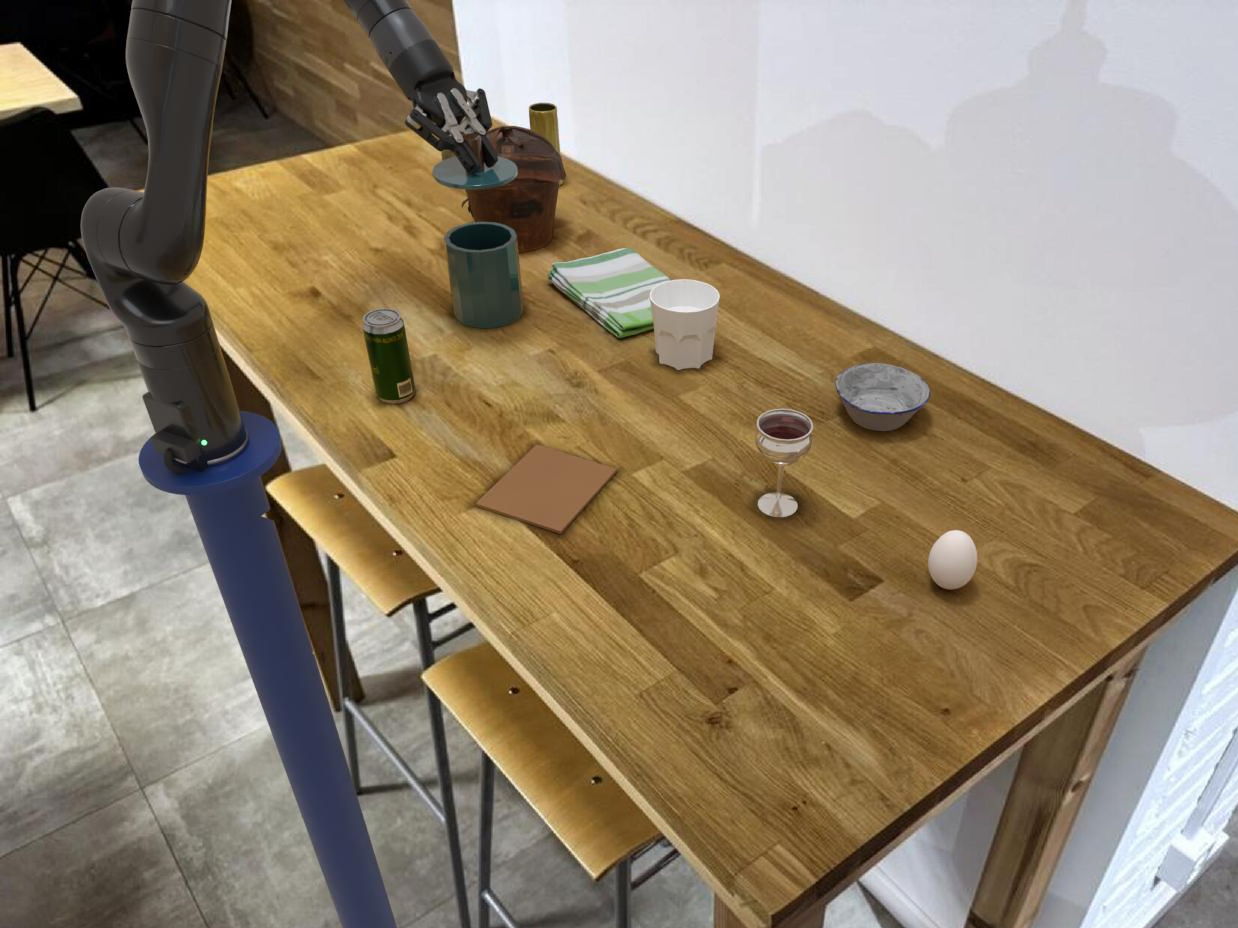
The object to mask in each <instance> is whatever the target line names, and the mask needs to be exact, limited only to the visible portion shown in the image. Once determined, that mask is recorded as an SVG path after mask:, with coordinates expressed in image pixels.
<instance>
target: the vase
mask: <svg viewBox="0 0 1238 928" xmlns="http://www.w3.org/2000/svg"><path fill="white" fill-rule="evenodd" d="M528 118H529V119H528V121H529V129H530V130H533V131H535V132H537V133H539V134H541V135H542V136H544V137H545V138H546V139H547V140H548V141H549V142H550V143H551V144H552V145H553V146H554V148H555V150H557V152H558V153H559V154H560V156H561V157H562V153H561V144H560V131H559V118H558V107H557V106H556V104H554V103H551V102H536V103H532V104H530V105H529V106H528ZM559 181H560V183H559V187H560V186H561V185H563V184H564V182H565V179H564V180H561V179H560V180H559Z"/></svg>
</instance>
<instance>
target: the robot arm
mask: <svg viewBox="0 0 1238 928" xmlns="http://www.w3.org/2000/svg"><path fill="white" fill-rule="evenodd" d="M340 1H341V2H342V3H343V4H344V5H345V6H346V7H347V9H348V10H349V11H350V12H351V14H352V15H353V17H354V18H355V19H356V21H357V22H358V24H359V25H360V27H361V28H362V30H363V31H364V32H365V34H366V36H367V37H368V39H369V40H370V42H371V43H372V46H373V48H374V50H375V52H376V54H377V56H378V57H379V59H380V61H381V62H382V63H383V65H384V66H385V68H386V69H387V71H388V72H389V74H390V75H391V77H392V78H393V80H394V81H395V83H396V84H397V86H398V87H399V89H400V90H401V92H402V93H403V96H405V98H406V99H407V100H408V101H410V102H412V107H413V108H412V109H411V111H410V112H409V114H408V115H407V116H406V118H405V120H404V125H405V126H406V127H408V128H409V129H410V130H411V131H412V132H414V133H415V134H416V135H418V136H419V137H420V138H421V139H423V140H424V141H425V142H426V143H428V144H429V145H430V146H432V147H433V148H434V149H435V150H436V151H438V152H441V151H443V150H450V151H451V152H454V154H455V155H456V157H457V158H458V160H459V161H460V163H461V164H462V166H463V167H464V169H465V170H467V171H469V173H470V174H474V173H477V171H478V170H479V169H480V168H481V164H480V162H479V160H478V159H477V157H476V156H475V154H474V153H473V151H472V150H471V148H470V147H469V145H468V144H467V142H465V143H463V137H462V135H461V133H460V131H461V132H464V133H465V134H471V133H473V134H479V135H480V136H481V139H482V149H483V159H484V163H485V165H486V166H487V167H488V168H490V167H493V166H494V165H495V164H496V162H497V161H498V155H497V152H496V151H495V149H494V148H493V146H492V145H491V143H490V141H489V140H488V138H487V137H486V133H487V132H488V131H489V130H491V129H492V127H493V119H492V116H491V111H490V107H489V103H488V99H487V94H486V91H485V90H484V88H477V90H476V91H473V90H469V89H467V88H466V87H465V86H464V85H463V84H462V83H461V82H459V80H457V78H456V75H455V71H454V67H453V66H452V64H451V63H450V61H449V59H448V58H447V56H446V54H445V53H444V51H443V50H442V49H441V47H440V46H439V44H438V43H437V41H436V40H435V38H434V36H433V34H431V31H430V30H429V29H428V27H427V26H426V25H425V23H424V21H422V20H421V18H420V17H419V16H418V15H417V13H416V12H415V11H414V9H413V8H412V6H411V4H410V3H409V2H408V0H340ZM232 2H233V0H132V2H131V10H130V15H129V23H128V27H127V28H128V29H127V35H126V36H127V37H126V44H125V64H126V69H127V73H128V74H127V75H128V78H129V82H130V85H131V88H132V90H133V93H134V97H135V99H136V102H137V105H138V108H139V111H140V115H141V116H142V117H141V118H142V120H143V124H144V127H145V129H146V130H145V131H146V135H147V144H148V161H147V172H146V179H145V180H146V181H145V185H144V190H143V191H139V190H135V189H130V188H125V187H115V186H112V187H111V186H110V187H106V188H103V189H100V190H98V191H96V192H95V193H93V194H92V195H91V196H90V197H89V198H88V200H87V201H86V203H85V205H84V207H83V209H82V211H81V217H80V234H81V235H80V236H81V241H82V244H83V248H84V251H85V253H86V257H87V260H88V262H89V265H90V266H91V269H92V271H93V274H94V276H95V278H96V281H97V283H98V285H99V288H100V290H101V292H102V294H103V297H104V299H105V301H106V304H107V306H108V308H109V310H110V311H111V313H112V314H113V316H114V317H115V318H116V319H117V320H118V321H119V322H120V323H121V325H122V326H123V328H124V330H125V332H126V335H127V337H128V339H129V343H130V345H131V348H132V351H133V353H134V356H135V359H136V362H137V365H138V367H139V370H140V373H141V377H142V379H143V382H144V385H145V387H146V390H147V391H146V392H145V393H143V394H142V397H141V398H142V401H143V405H144V406H145V409H146V411H147V414H148V417H149V420H150V422H151V425H152V429H153V431H154V434H152V435H151V436H150V437H151V440H152V443H153V446H154V448H155V451H156V452H158V453H161V454H163V455H164V463H165V466H166V467H167V468H168V469H169V470H170V471H172V472H174V473H177V474H179V475H180V474H183V473H184V471H185V470H184V468H183V467H181V466H178V465H176V464H174V463H177V464H179V465H182V466H185V467H188V468H191V469H194V470H197V471H200V472H202V471H204V470H206V469H207V468H209V467H213V466H217V465H221V464H224V463H226V462H229V461H231V460H233V459H235V458H236V457H238V456H239V455H240V454H242V453H243V452H244V451H245V450H246V448H247V447H248V444H249V437H248V433H247V430H246V429H245V426H244V423H243V420H242V416H241V413H240V411H241V410H240V406H239V404H238V400H237V397H236V394H235V391H234V387H233V384H232V381H231V377H230V373H229V370H228V367H227V364H226V361H225V358H224V354H223V351H222V348H221V344H220V340H219V338H218V335H217V331H216V327H215V324H214V320H213V317H212V315H211V311H210V308H209V305H208V303H207V301H206V299H205V298H204V296H203V295H202V294H200V293H199V292H198V291H197V290H195V289H194V288H192V286H189V285H188V284H187V283H186V282H185V281H186V280H188V279H189V278H190V276H191V275H192V274H193V273H194V272H195V269H196V268H197V266H198V265H199V261H200V259H201V256H202V254H203V253H202V252H203V249H204V241H205V233H206V219H207V197H208V177H209V176H208V175H209V161H210V151H211V144H212V136H213V128H214V118H215V110H216V104H217V98H218V93H219V87H220V83H221V77H222V73H223V67H224V60H225V53H226V46H227V40H228V31H229V22H230V14H231V9H232ZM470 125H471V126H470ZM471 127H472V128H473V129H474V130H475V132H474V131H473V129H472V128H471ZM155 433H156V434H155Z"/></svg>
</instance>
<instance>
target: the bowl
mask: <svg viewBox="0 0 1238 928" xmlns="http://www.w3.org/2000/svg"><path fill="white" fill-rule="evenodd" d="M834 388H835V389H836V393H837V395H838V396H839V399H840V400H841V402H842V403H843V406H844V408H845V410H846V412H847V414H848V415H849V417H850V420H852V421H853V422H854V423H855V424H856V425H858V426H860V427H861V428H864V429H866V430H867V429H868V430H871V431H875V432H889V431H894V430H897V429H900V428H901V427H903V426H904V425H905V424H907V422H908V421H909V420H911V418H912V417H913V416H914V415H915V414H916V413H917V412H918V411H919V410H920V409H922V408H923V407H924V406H925V405H926V404H927V403H928V401H929V400H930V397H931V389H930V387H929V384H928V382H926V380H925V381H924V379H923V378H922V377H921V376H920V375H918V374H916V373H915V372H913V371H910V370H908V369H906V368H904V367H902V366H896V365H894V364H889V363H881V362H868V363H862V364H857V365H853V366H851V367H849V368H847V369H845V370H843V371H842V372H841V373H839V374H837V375H836V377H835V379H834Z"/></svg>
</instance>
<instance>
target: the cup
mask: <svg viewBox="0 0 1238 928" xmlns="http://www.w3.org/2000/svg"><path fill="white" fill-rule="evenodd" d="M670 280H671V281H666V282H663V283H661V284H658V285H657V286H655V287H654V288H653V289H652V290H651V291H650V303H651V311H652V319H653V323H654V329H653V334H654V346H655V347H654V348H655V353H656V354H657V355H658V359H659V360H658V361H659V364H661V365H666V366H669V367H671V368H674V369H675V370H677V371H680V370H683V369H685V370H686V369H701V367H702V365H704V364H705V363H706V362H708V361H712V360H713V354H714V345H715V338H716V337H715V335H716V327H717V320H718V319H717V318H718V312H719V306H720V305H719V304H720V298H721V297H720V296H721V295H720V292H719V290H718V289H717V288H715V286H713V285H711V284H709V283H706V282H704V281H701V280H694V279H683V278H681V279H670Z"/></svg>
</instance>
